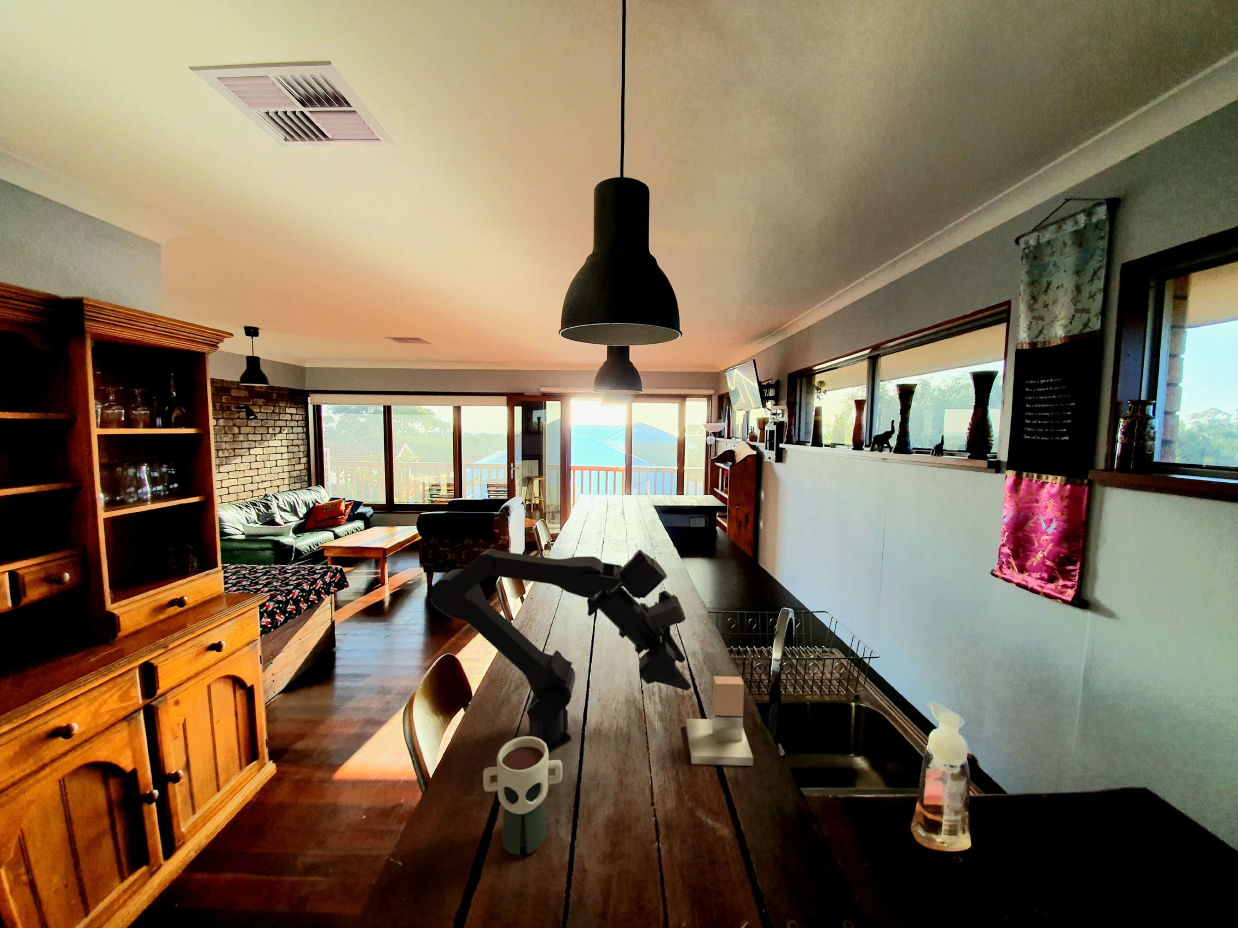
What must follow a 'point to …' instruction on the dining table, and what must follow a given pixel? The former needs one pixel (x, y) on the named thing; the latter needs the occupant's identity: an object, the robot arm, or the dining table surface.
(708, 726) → the cream square base plate
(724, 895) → the dining table surface
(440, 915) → the dining table surface
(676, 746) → the dining table surface
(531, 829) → the character mug
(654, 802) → the dining table surface
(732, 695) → the peach rectangular post
